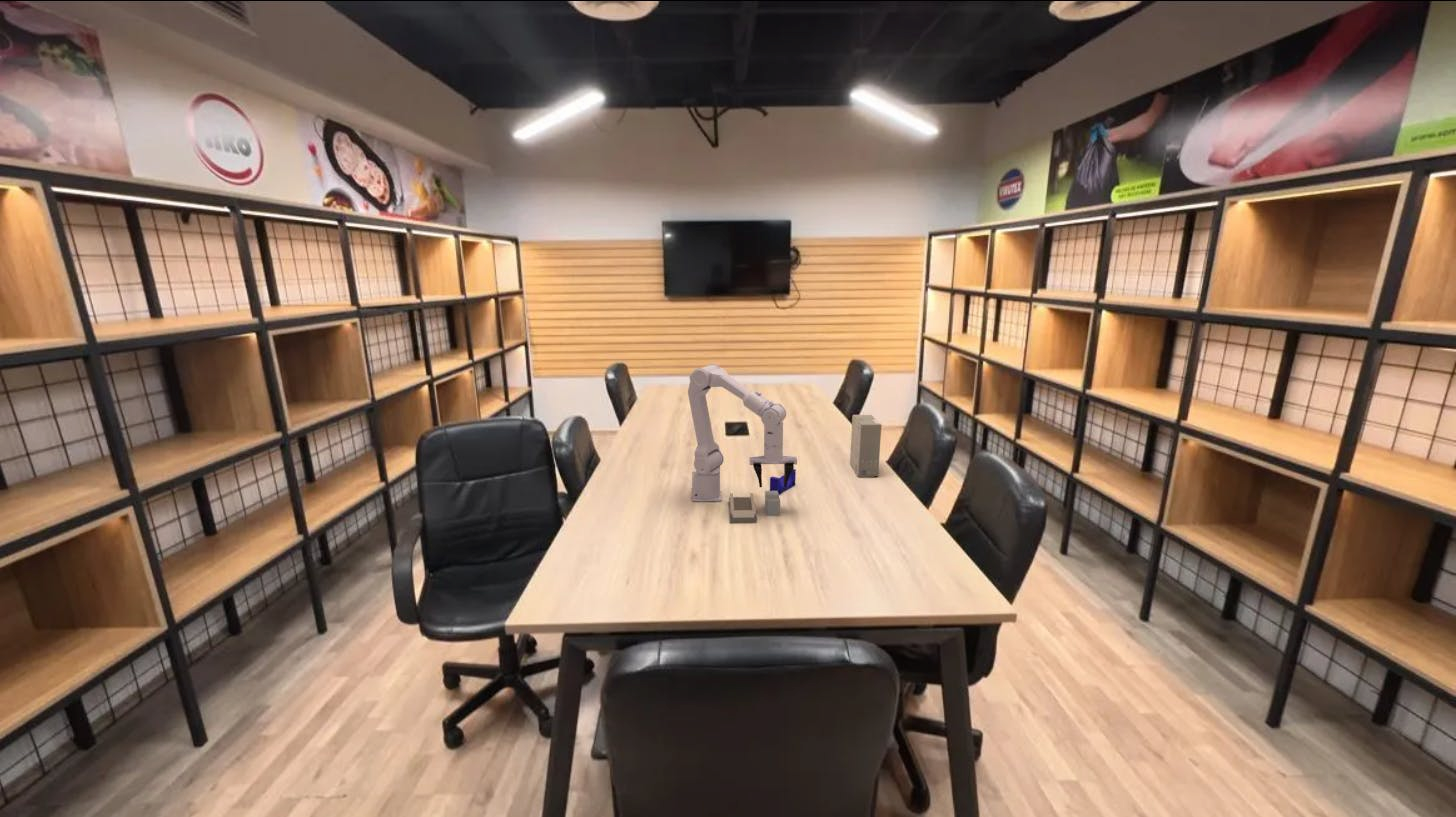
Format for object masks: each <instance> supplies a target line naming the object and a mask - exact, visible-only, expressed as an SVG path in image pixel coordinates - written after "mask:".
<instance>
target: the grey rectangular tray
mask: <svg viewBox="0 0 1456 817" xmlns="http://www.w3.org/2000/svg"><path fill="white" fill-rule="evenodd" d="M755 502H756V501H755V496H754V493H753V492H751V493H749V496H734V493H733V492H732V493H731V492H730V493H729V497H728V507H729V508H728V509H729V523H730V524H757V523H758V517H757V511H756V510H757V509H756V503H755Z"/></svg>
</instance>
